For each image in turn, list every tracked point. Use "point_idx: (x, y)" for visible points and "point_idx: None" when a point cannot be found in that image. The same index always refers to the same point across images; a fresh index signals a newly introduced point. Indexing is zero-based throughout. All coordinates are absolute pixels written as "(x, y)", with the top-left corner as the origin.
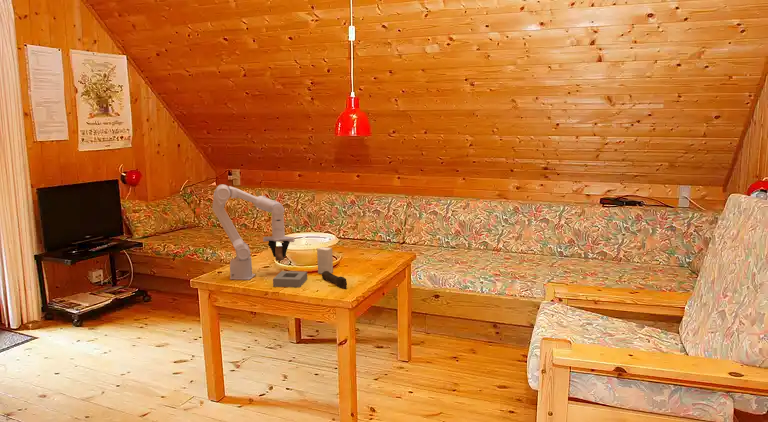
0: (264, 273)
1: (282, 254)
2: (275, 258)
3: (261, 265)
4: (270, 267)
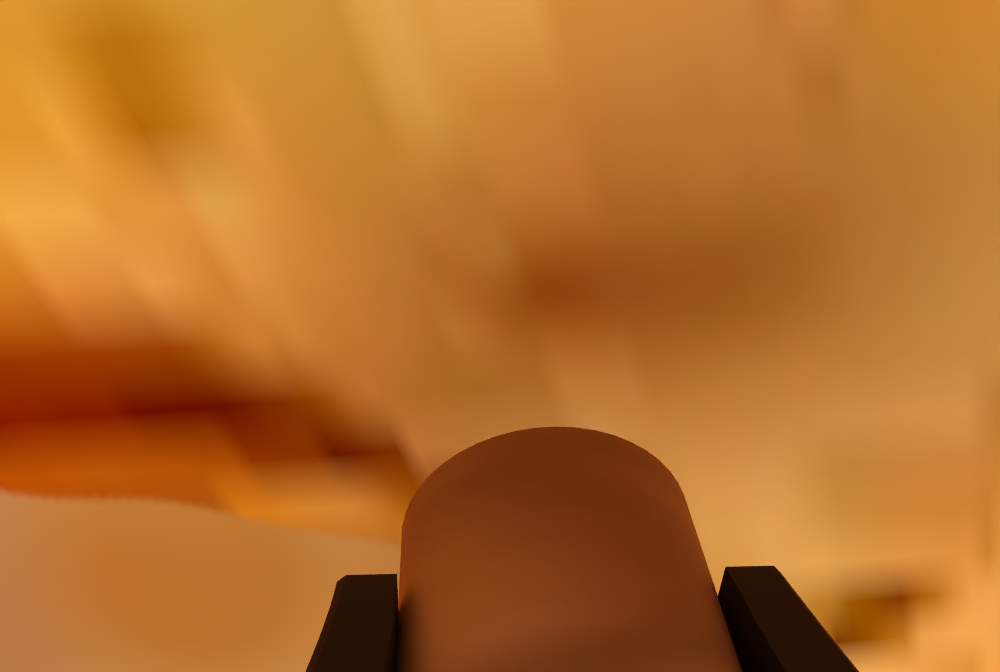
0: (879, 288)
1: (412, 669)
2: (694, 528)
3: (958, 663)
4: None
